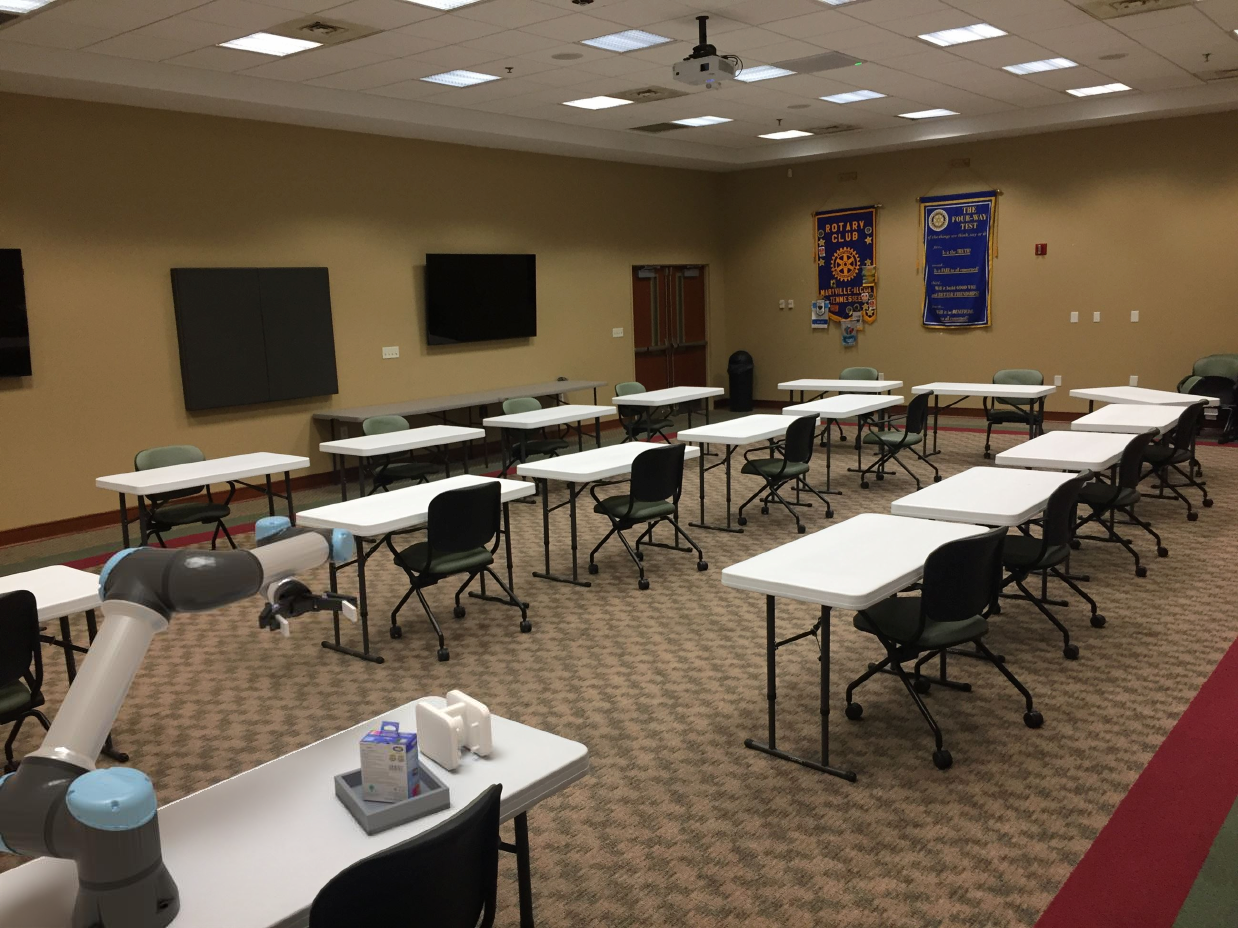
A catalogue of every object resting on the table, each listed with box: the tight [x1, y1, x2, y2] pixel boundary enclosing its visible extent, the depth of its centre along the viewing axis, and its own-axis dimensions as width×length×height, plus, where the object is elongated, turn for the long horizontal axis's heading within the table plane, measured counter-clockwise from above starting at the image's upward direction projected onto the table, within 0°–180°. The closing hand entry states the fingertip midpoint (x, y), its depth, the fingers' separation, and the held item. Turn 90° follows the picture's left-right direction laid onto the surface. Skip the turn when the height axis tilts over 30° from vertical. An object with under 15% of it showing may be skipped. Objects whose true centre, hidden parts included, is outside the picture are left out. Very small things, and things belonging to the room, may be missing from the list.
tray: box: [333, 758, 451, 837], centre depth 182 cm, size 16×18×4 cm
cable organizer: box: [415, 689, 493, 771], centre depth 199 cm, size 15×11×12 cm
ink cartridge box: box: [358, 720, 420, 803], centre depth 181 cm, size 10×6×14 cm, turn 78°
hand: (321, 622), depth 189 cm, fingers open, 13 cm apart
